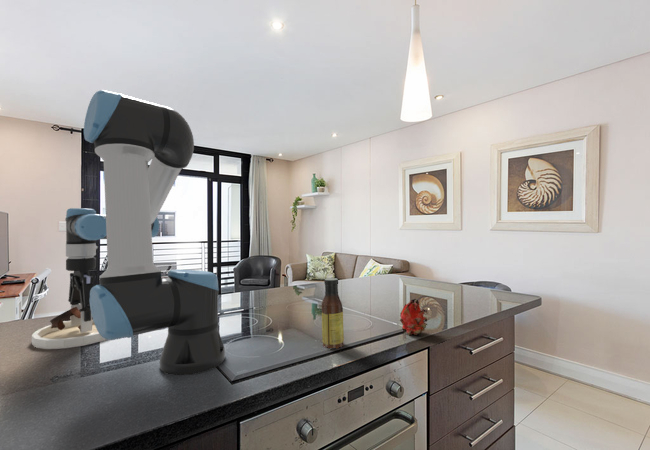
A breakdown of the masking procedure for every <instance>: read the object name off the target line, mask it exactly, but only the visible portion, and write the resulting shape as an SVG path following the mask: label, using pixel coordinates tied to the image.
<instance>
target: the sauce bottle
mask: <svg viewBox="0 0 650 450" xmlns="http://www.w3.org/2000/svg"><path fill="white" fill-rule="evenodd" d="M323 281H324V289H325V291H324V296H323V299H322V302H321V334H322V335H321V337H322V340H321V341H322V346H323V347H324V346H325V347H324V348H326V347H328V348H327V349H330V348H336V349H340V348H339V347H341V348H342V346H343V347H344V341H345V336H344V311H343V303H342V301H341V299H340V296H339V288H338V287H339V279H338V278H336V277H326V278H324V280H323Z"/></svg>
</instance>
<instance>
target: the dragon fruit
mask: <svg viewBox="0 0 650 450" xmlns="http://www.w3.org/2000/svg"><path fill="white" fill-rule="evenodd" d="M425 314H426V315H428V314H429V313H428V310H427V309H423V308H422V309H421V307H420V300H419V299H417V298H414V299H411V300H410V301H409V302H408V303H406V304H404V306H403V308H402V310H401V312H400V315H399V316H400V318H399V321H400V322H401V324H402V327H401V328H402V331H403V332H406V334H407V335H408V336H411V335H412V336H417V335H420V334H421V333H422V332H424V331H425V329H426V328H427V326H428V323H427V322H428V318H427V317H425V316H424V315H425Z"/></svg>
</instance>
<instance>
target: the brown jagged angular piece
mask: <svg viewBox="0 0 650 450" xmlns="http://www.w3.org/2000/svg"><path fill="white" fill-rule="evenodd" d="M72 315H75V317H77V318H81V312H79V309H78V308H77V307H74V308H72V309H71V308H70V309H68V310H65V312H62V313H61V314H58V315H56V317H54V318H52V319H50V320H49V322H50V323H51V324H50V325H51V328H57V327H58V329H60V330H62V329H64V328H65V325H64V323H63V321H70V320H71V316H72ZM92 320H93V318H92ZM78 328H79V329H80V331H81V325H80V326H79V327H78Z"/></svg>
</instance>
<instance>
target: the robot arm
mask: <svg viewBox="0 0 650 450" xmlns="http://www.w3.org/2000/svg"><path fill="white" fill-rule="evenodd" d="M83 137H84V140H85V142H89V143H91V144H94V154H96V155H97V156H98V157H99V158H101V159H102V161H103V176H104V177H103V179H104V180H103V181H104V204H105V214H100V213H97V211H96V209H94V208H83V207H82V208H81V207H80V208H79V207H76V208H75V207H74V208H73V207H71V208H68V209H67V210H66V215H65V216H66V217H65V232H66V234H65V235H66V236H65V240H66V241H65V257H67V258H66V259H65V270H66V271H69V272H70V273H69V292H68V300H67V301H68V303H69V305H70V309H72V308H74V307H77V308H78V309H79V312H81V318H77V317H75V315H72V316H71V317H70V319H71V326H74V325H79V324H81V333H83V332H87V331H92V318H93V321H94V324H95V326H96V329H97V331H98V332H99V334H100V335H101V336H102V337H103V338H105V339H107V340H108V341H116V340H121V339H125V338H128V339H130V338H132V337H134V336H138V335H143V334H146V333H151V332H155V331H159V330H163V329H167V337H166V340H165V343H164V344H163V345H164V346H163V347H162V350H161V354H160V358H159V369H160V371H161V372H162V373H164V374H166V375H171V376H190V375H196V374H202V373H206V372H208V371H210V370H213V369H215V368H217V367H219V366H220V365H221V364H222V363H223V362H224V361H225V358H226V350H225V345H224V343H223V340H222V337H221V333H220V331H219V322H218V321H219V291H220V288H219V280H218V279H219V278H218V276H217V275H216V274H215V273H214V272H211V271H206V270H205V271H204V270H198V269H197V270H195V269H194V270H193V269H170V270H169V271H168V272H167V277H162V271H161V269H160V268H159V267H157V265H155V264H154V256H153V255H154V253H153V252H154V251H153V238H156V237H157V236H158V234H159V229H160V222H159V219H158V215H159V214H160V211H161V210H162V207H163V205H164V203H165V202H166V200H167V198H168V196H169V194H170V192H171V190H172V189H173V186H174V184H175V182H176V180H177V178H178V176H179V175H180V173H181V170H182V169H185V168H187V167H188V165H189V163H190V162H191V159H192V157H193V154H194V150H195V142H194V134H193V132H192V129H191V126H190V125H189V124H188V122H187V120H186V119H185V118H184V117H183V115H181V114H180V113H179V112H178V111H176V110H175V109H173V108H171V107H169V106H165V105H162V104H157V103H154V102H149V101H147V100H142V99H139V98H135V97H133V96H128V95H125V94H123V93H121V92H118V93H117V92H113V91H108V90H104V89H101V90H97V91H96V92H95V93H94V94H93V95H92V97H91V99H90V101H89V103H88V106H87V110H86V113H85V119H84V124H83ZM149 162H150V164H149ZM100 240H106V252H107V253H106V254H107V259H106V260H107V268H106V269H105V270H104V272H102V274H100V275H99V284H96V285H94V276H92V275H90V271H91V270H95V269H96V267H97V257H95V256H96V255H97V252H96V251H97V249H98V248H99V246H98V245H97V244H96V243H97V241H100ZM107 340H106V341H107Z"/></svg>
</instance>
